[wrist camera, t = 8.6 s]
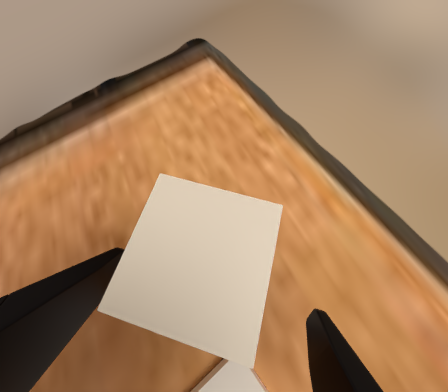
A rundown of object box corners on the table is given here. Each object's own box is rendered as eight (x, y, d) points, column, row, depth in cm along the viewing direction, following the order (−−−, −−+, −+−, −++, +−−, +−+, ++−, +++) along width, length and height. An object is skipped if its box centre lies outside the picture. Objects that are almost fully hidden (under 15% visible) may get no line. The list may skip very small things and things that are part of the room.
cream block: (234, 290, 16) (253, 369, 4) (188, 275, 16) (96, 310, 5) (246, 241, 17) (282, 205, 6) (203, 229, 18) (160, 173, 6)
